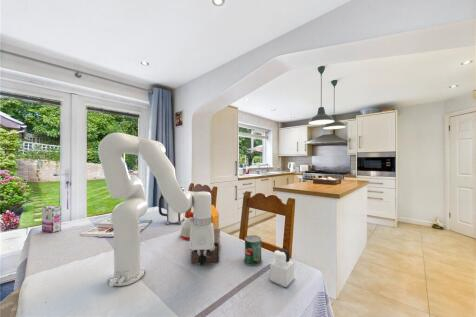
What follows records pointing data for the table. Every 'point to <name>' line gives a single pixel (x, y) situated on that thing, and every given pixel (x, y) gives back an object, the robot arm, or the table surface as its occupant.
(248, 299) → the table surface
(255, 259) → the canned tomato
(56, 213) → the candy bar box
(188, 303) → the table surface
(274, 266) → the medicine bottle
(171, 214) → the coffee press
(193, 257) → the drawer
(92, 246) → the table surface
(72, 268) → the table surface
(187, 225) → the kitchen timer
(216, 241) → the cabinet
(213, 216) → the orange juice
